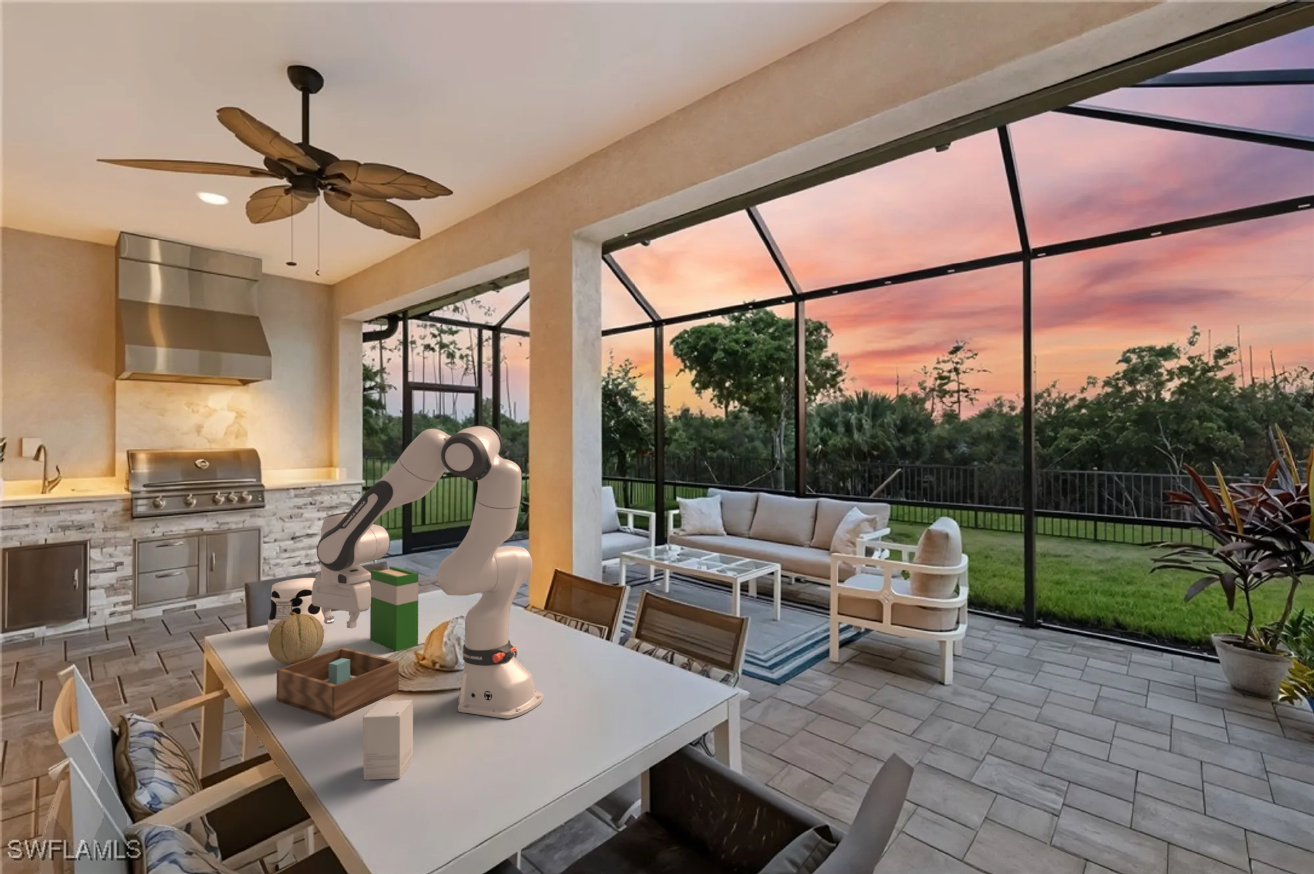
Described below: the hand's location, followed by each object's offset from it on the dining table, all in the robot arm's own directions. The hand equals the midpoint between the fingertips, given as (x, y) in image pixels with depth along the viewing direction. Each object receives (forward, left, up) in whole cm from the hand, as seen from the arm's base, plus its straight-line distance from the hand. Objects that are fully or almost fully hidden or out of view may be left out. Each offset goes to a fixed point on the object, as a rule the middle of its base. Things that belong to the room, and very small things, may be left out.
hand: (340, 625), depth 150 cm
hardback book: (+22, -34, -19) cm, 45 cm away
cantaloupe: (+34, -9, -19) cm, 40 cm away
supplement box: (-42, +17, -19) cm, 49 cm away
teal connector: (0, 0, -18) cm, 18 cm away
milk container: (+61, -25, -19) cm, 69 cm away
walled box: (0, 0, -19) cm, 19 cm away
